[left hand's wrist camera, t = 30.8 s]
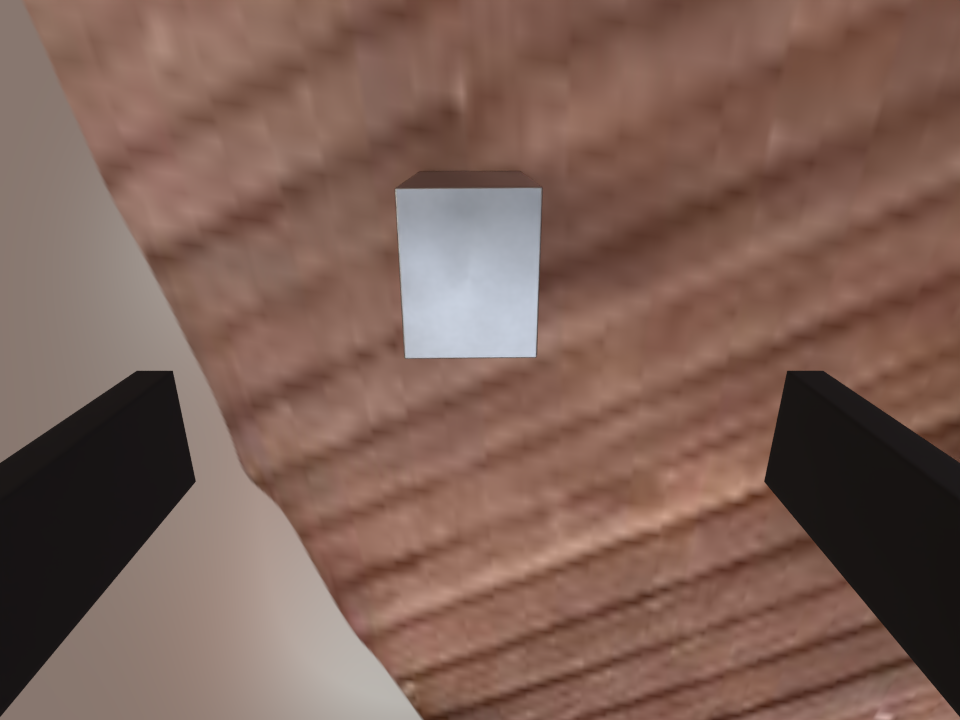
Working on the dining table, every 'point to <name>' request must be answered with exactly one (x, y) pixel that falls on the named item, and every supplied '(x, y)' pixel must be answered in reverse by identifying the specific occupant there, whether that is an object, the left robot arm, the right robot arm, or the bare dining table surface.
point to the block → (469, 264)
